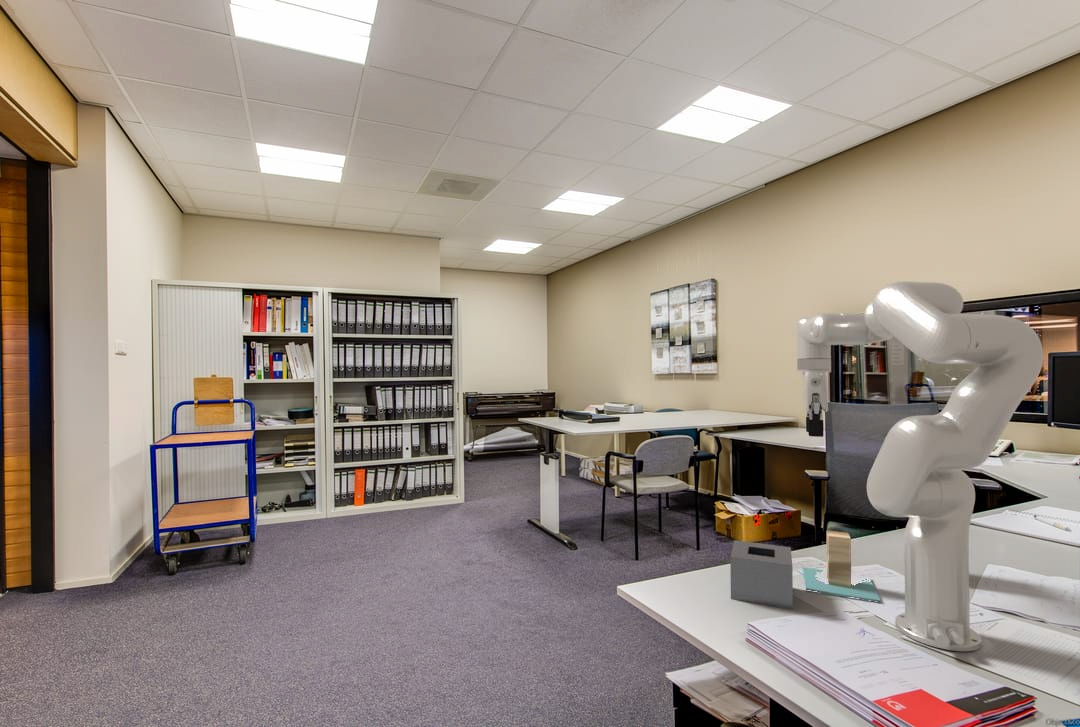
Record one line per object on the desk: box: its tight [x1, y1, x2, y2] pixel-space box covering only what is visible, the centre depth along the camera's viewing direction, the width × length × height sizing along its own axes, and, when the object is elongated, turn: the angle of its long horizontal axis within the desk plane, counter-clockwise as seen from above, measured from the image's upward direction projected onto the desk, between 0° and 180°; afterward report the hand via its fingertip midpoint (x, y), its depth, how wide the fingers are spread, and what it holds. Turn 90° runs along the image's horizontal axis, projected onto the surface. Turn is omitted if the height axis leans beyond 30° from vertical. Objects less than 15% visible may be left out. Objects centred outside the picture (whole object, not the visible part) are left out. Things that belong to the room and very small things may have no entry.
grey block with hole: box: [729, 539, 794, 610], centre depth 113 cm, size 12×12×9 cm
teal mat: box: [802, 566, 882, 603], centre depth 117 cm, size 14×14×1 cm
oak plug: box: [825, 530, 852, 588], centre depth 117 cm, size 4×4×11 cm
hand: (814, 434), depth 128 cm, fingers open, 9 cm apart
